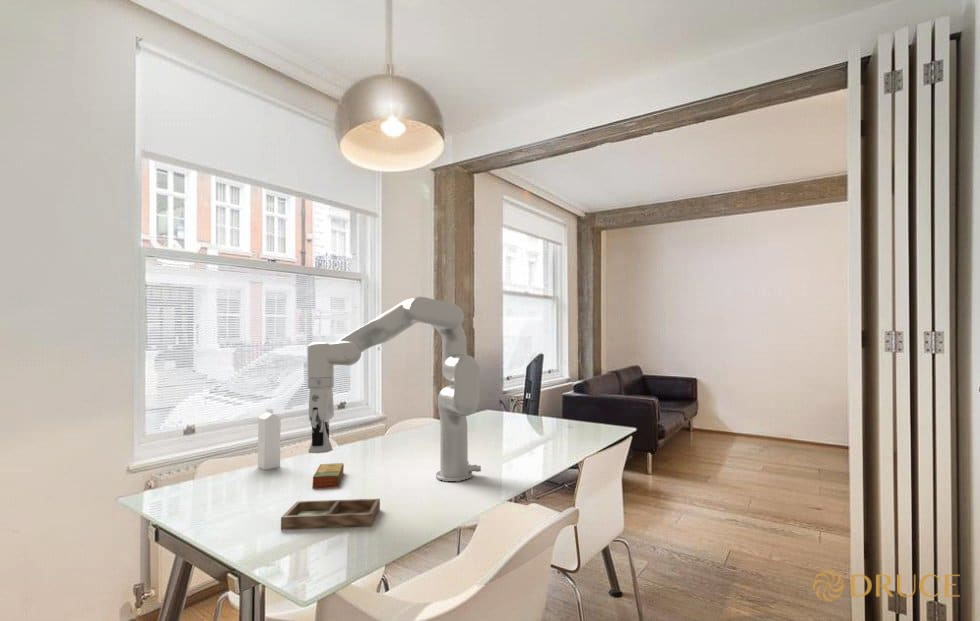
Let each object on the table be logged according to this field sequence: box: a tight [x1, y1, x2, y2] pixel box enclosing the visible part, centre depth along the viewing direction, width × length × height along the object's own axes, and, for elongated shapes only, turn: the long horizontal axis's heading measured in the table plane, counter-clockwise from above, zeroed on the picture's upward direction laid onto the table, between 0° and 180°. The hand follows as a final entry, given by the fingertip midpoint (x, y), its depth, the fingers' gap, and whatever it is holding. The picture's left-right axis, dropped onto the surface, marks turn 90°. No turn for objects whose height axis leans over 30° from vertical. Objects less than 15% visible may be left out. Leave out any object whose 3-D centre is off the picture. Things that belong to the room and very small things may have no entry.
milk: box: [257, 408, 282, 471], centre depth 184 cm, size 6×6×22 cm
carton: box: [311, 462, 345, 490], centre depth 165 cm, size 8×16×4 cm, turn 11°
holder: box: [280, 498, 381, 530], centre depth 129 cm, size 23×12×3 cm, turn 93°
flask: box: [308, 420, 333, 454], centre depth 145 cm, size 7×7×10 cm
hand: (320, 443), depth 145 cm, fingers closed on flask, 4 cm apart
